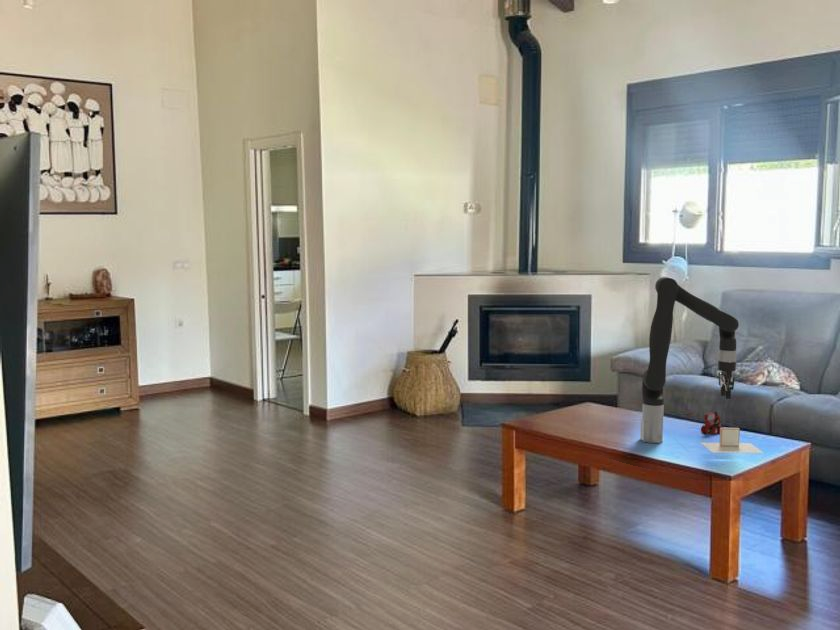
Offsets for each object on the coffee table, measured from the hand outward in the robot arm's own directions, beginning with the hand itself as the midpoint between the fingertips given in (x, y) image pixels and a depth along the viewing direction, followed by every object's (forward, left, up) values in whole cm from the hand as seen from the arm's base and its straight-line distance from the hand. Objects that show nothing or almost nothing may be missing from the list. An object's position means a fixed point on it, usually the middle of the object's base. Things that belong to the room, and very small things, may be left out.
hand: (725, 397), depth 353 cm
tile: (0, -7, -20) cm, 22 cm away
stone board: (0, -10, -21) cm, 24 cm away
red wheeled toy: (+1, +18, -22) cm, 28 cm away
